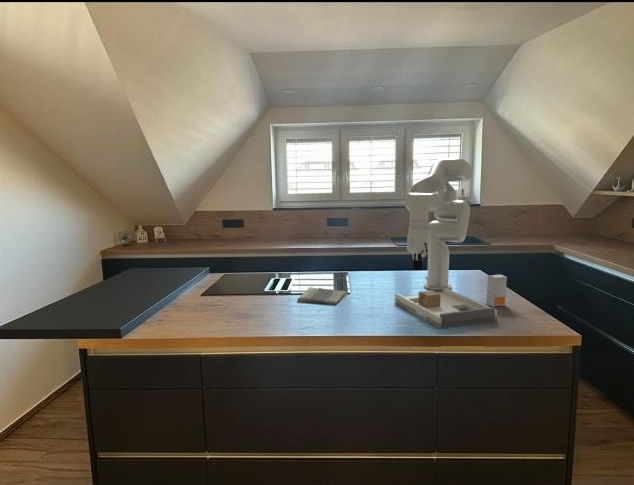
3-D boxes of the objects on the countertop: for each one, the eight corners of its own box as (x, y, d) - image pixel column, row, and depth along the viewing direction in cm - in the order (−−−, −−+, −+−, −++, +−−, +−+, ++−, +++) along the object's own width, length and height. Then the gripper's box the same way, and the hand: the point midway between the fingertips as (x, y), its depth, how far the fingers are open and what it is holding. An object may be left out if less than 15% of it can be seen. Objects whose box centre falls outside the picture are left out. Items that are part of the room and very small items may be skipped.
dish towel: (337, 306, 170) (337, 299, 169) (296, 303, 176) (296, 296, 175) (348, 294, 187) (348, 287, 187) (311, 291, 193) (311, 285, 192)
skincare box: (492, 307, 165) (494, 277, 163) (485, 303, 169) (487, 275, 167) (505, 305, 167) (507, 276, 165) (498, 302, 171) (500, 274, 169)
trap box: (395, 302, 173) (395, 291, 172) (445, 297, 179) (445, 285, 179) (438, 328, 142) (439, 314, 142) (496, 321, 149) (497, 307, 148)
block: (418, 303, 164) (418, 291, 163) (431, 302, 166) (431, 290, 165) (426, 308, 159) (426, 295, 158) (440, 306, 160) (440, 293, 160)
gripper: (401, 223, 172) (400, 266, 174) (420, 226, 158) (418, 273, 160) (417, 222, 174) (416, 265, 176) (437, 226, 160) (435, 272, 162)
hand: (417, 269), depth 168 cm, fingers closed
